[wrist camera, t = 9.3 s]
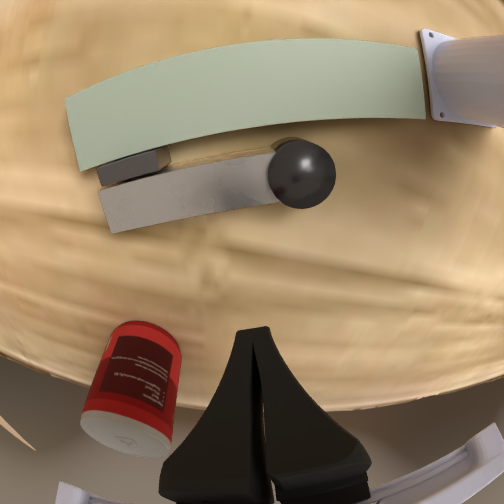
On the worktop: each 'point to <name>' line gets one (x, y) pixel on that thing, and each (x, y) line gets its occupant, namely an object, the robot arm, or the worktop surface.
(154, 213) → the latch bar
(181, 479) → the robot arm
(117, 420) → the canned food
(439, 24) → the worktop surface
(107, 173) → the block
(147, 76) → the pale green flat bar
